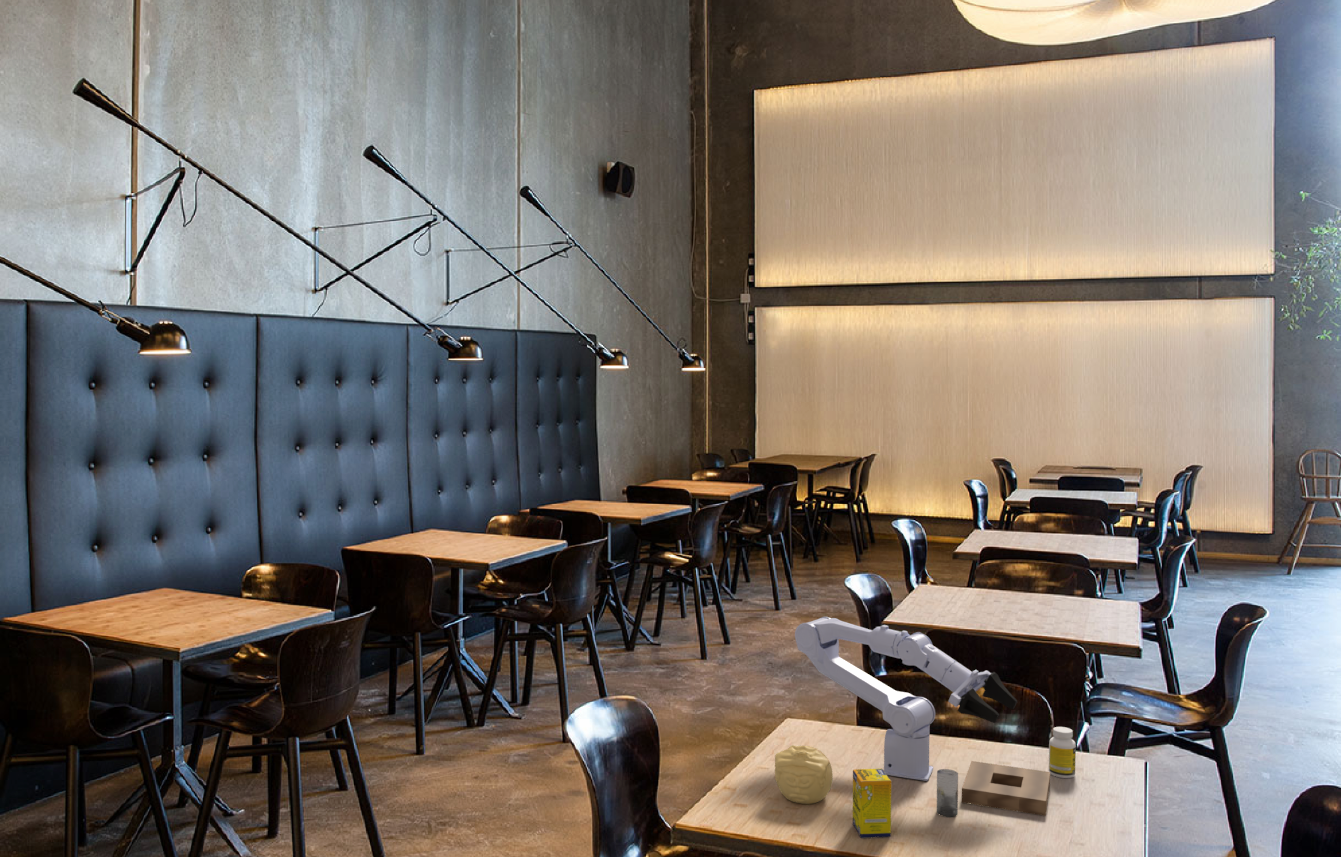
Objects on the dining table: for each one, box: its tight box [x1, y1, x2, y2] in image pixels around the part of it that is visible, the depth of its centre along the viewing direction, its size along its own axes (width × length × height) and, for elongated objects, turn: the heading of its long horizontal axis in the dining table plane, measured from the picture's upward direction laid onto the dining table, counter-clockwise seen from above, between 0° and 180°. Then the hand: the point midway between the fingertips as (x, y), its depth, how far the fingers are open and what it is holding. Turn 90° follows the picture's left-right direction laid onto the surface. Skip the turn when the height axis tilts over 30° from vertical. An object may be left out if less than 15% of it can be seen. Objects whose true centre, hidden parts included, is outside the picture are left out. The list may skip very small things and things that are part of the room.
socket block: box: [961, 760, 1051, 817], centre depth 210 cm, size 16×16×3 cm
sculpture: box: [774, 744, 834, 805], centre depth 208 cm, size 12×12×11 cm
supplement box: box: [852, 768, 892, 839], centre depth 192 cm, size 6×6×11 cm
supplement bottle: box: [1048, 726, 1077, 779], centre depth 220 cm, size 5×5×10 cm
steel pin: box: [936, 768, 959, 818], centre depth 201 cm, size 4×4×8 cm
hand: (1006, 712), depth 206 cm, fingers open, 7 cm apart
